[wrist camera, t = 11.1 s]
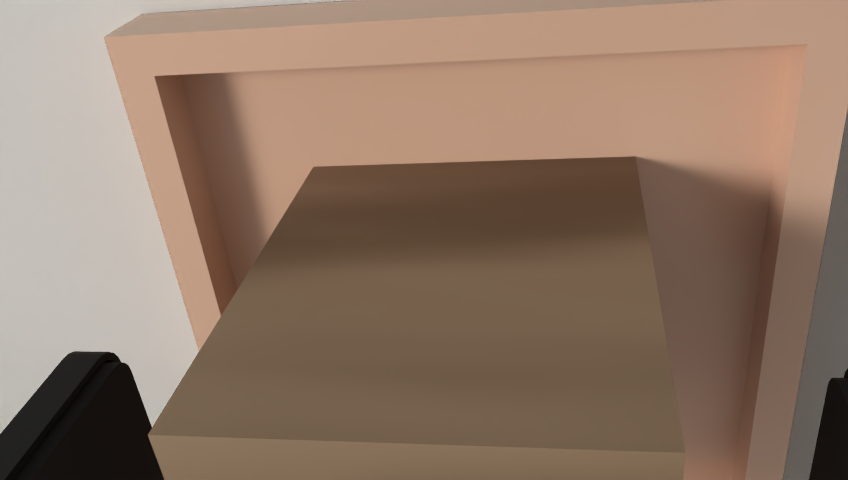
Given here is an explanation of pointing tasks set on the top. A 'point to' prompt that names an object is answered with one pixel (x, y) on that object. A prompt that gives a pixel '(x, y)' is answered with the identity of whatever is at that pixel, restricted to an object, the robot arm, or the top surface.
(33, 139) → the top surface
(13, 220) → the top surface
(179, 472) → the letter block
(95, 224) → the top surface
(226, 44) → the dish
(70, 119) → the top surface
